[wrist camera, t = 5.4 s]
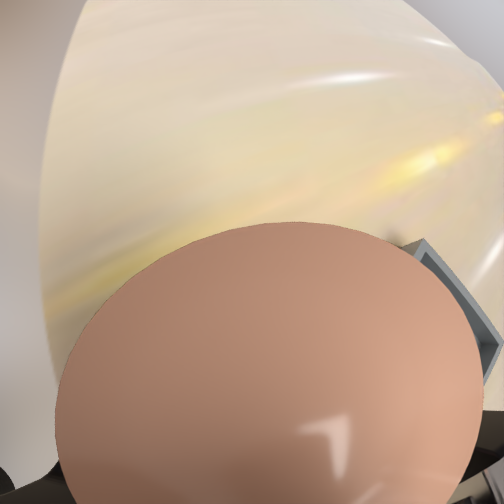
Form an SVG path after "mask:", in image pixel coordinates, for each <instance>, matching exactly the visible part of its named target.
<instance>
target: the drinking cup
mask: <svg viewBox="0 0 504 504" xmlns="http://www.w3.org/2000/svg"><path fill="white" fill-rule="evenodd" d="M14 490H15V487H14V484H13V483H12V481H11V479H10V477H9V476H8V475H7V473H6V472H5V471H4V470H3V469H2V468H1V467H0V495H4V494H6V493H9V492H11V491H14Z"/></svg>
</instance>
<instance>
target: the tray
mask: <svg viewBox="0 0 504 504" xmlns="http://www.w3.org/2000/svg"><path fill="white" fill-rule="evenodd" d="M401 250H403V251H405V252H406V253H408V254H410V255H411V256H413V257H414V258H416V259H417V260H418V261H419V262H421V263H422V264H423V265H424V266H426V267H427V268H428V269H429V270H431V271H432V272H433V273H434V274H435V275H436V276H437V277H438V278H439V280H440V281H441V282H442V283H443V284H444V285H445V286H446V287H447V288H448V289H449V291H450V292H451V294H452V295H453V296H454V298H455V299H456V301H457V302H458V304H459V305H460V307H461V308H462V310H463V312H464V314H465V316H466V318H467V320H468V322H469V324H470V326H471V329H472V331H473V334H474V337H475V340H476V343H477V347H478V350H479V354H480V359H481V365H482V372H483V387H484V385H485V383H486V381H487V379H488V377H489V375H490V373H491V371H492V369H493V367H494V365H495V362H496V360H497V358H498V356H499V353H500V351H501V349H502V346H503V344H504V341H503V339H502V337H501V336H500V334H499V333H498V331H497V330H496V329H495V327H494V326H493V324H492V323H491V321H490V320H489V318H488V317H487V316H486V314H485V313H484V311H483V310H482V309H481V307H480V306H479V305H478V303H477V302H476V301H475V299H474V298H473V297H472V295H471V294H470V293H469V291H468V290H467V289H466V288H465V286H464V285H463V284H462V283H461V281H460V280H459V279H458V278H457V276H456V275H455V274H454V273H453V271H452V270H451V269H450V268H449V267H448V265H447V264H446V263H445V262H444V261H443V260H442V258H441V257H440V256H439V255H438V254H437V253H436V252H435V250H434V249H433V248H432V247H431V246H430V245H429V244H428V243H427V241H426V240H425V239H424V238H423V239H420V240H418V241H415V242H413V243H411V244H408V245H406V246H403V247H402V248H401Z"/></svg>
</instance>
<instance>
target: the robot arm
mask: <svg viewBox="0 0 504 504" xmlns="http://www.w3.org/2000/svg"><path fill="white" fill-rule="evenodd" d="M0 504H77V503H76V501H75V499H74V497H73V496H72V494H71V492H70V490H69V488H68V486H67V483H66V480H65V477H64V474H63V471H62V468H61V465H60V462H59V460H58V462H57V463H56V465H55V466H54V467H53V468H52V469H51V471H50V472H49V473H48V474H46V475H45V476H44V477H42V478H41V479H39V480H37V481H34V482H32V483H30V484H28V485H25V486H23V487H21V488H19V489H16V490H14V491H11V492H9V493H6V494H4V495H0ZM446 504H504V411H486V410H482V419H481V424H480V429H479V433H478V438H477V441H476V444H475V447H474V450H473V453H472V456H471V459H470V461H469V464H468V466H467V468H466V470H465V472H464V474H463V477H462V479H461V481H460V482H459V484H458V486H457V487H456V489H455V491H454V492H453V494H452V496H451V497H450V499H449V500H448V502H447V503H446Z"/></svg>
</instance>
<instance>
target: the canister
mask: <svg viewBox="0 0 504 504" xmlns="http://www.w3.org/2000/svg"><path fill="white" fill-rule="evenodd" d="M483 398H484V389H483V372H482V365H481V359H480V354H479V350H478V347H477V343H476V340H475V337H474V334H473V331H472V329H471V326H470V324H469V322H468V320H467V318H466V316H465V314H464V312H463V310H462V308H461V307H460V305H459V304H458V302H457V301H456V299H455V298H454V296H453V295H452V294H451V292H450V291H449V289H448V288H447V287H446V286H445V285H444V284H443V283H442V282H441V281H440V280H439V278H438V277H437V276H436V275H435V274H434V273H433V272H432V271H431V270H429V269H428V268H427V267H426V266H424V265H423V264H422V263H421V262H419V261H418V260H417V259H416V258H414V257H413V256H411V255H410V254H408V253H406V252H405V251H403V250H401V249H400V248H398V247H396V246H394V245H393V244H391V243H389V242H387V241H384V240H382V239H379V238H377V237H374V236H371V235H369V234H366V233H364V232H361V231H357V230H352V229H348V228H344V227H340V226H335V225H329V224H319V223H308V222H283V223H264V224H259V225H253V226H248V227H242V228H237V229H232V230H228V231H225V232H222V233H219V234H215V235H212V236H209V237H206V238H203V239H200V240H197V241H194V242H192V243H190V244H188V245H186V246H184V247H182V248H180V249H178V250H176V251H174V252H172V253H170V254H168V255H166V256H164V257H162V258H160V259H159V260H157V261H156V262H154V263H153V264H151V265H150V266H148V267H147V268H145V269H144V270H142V271H141V272H139V273H138V274H136V275H135V276H133V277H132V278H131V279H130V280H129V281H127V282H126V283H125V284H124V285H123V286H122V287H121V288H120V289H119V290H118V291H116V292H115V293H114V294H113V295H112V296H111V297H110V298H109V299H108V300H107V301H106V302H105V303H104V304H103V306H102V307H101V308H100V309H99V310H98V312H97V313H96V314H95V315H94V317H93V318H92V319H91V320H90V322H89V323H88V324H87V326H86V327H85V329H84V330H83V332H82V334H81V336H80V337H79V339H78V341H77V343H76V344H75V346H74V348H73V350H72V352H71V353H70V356H69V358H68V361H67V364H66V367H65V369H64V372H63V375H62V378H61V381H60V385H59V391H58V396H57V402H56V408H55V438H56V445H57V451H58V457H59V462H60V465H61V468H62V471H63V474H64V477H65V480H66V483H67V486H68V488H69V490H70V492H71V494H72V496H73V497H74V499H75V501H76V503H77V504H446V503H447V502H448V500H449V499H450V497H451V496H452V494H453V492H454V491H455V489H456V487H457V486H458V484H459V482H460V481H461V479H462V477H463V474H464V472H465V470H466V468H467V466H468V464H469V461H470V459H471V456H472V453H473V450H474V447H475V444H476V441H477V438H478V433H479V429H480V424H481V419H482V410H483Z"/></svg>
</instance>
